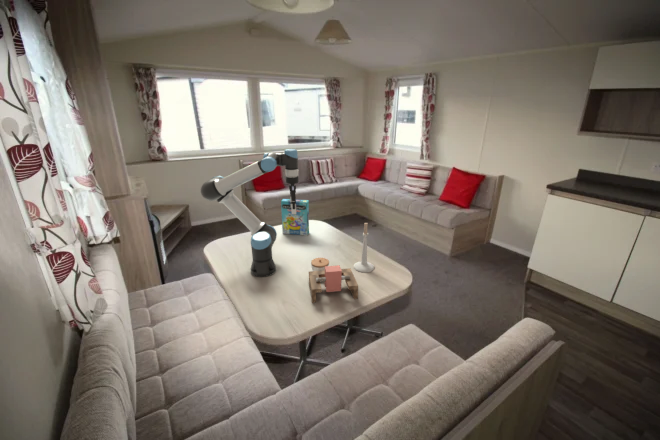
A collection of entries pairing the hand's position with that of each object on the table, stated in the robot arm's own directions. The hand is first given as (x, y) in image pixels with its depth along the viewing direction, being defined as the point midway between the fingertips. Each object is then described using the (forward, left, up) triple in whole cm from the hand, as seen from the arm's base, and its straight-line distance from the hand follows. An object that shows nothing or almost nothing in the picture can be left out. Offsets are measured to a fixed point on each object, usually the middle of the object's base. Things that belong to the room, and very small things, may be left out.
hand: (293, 210), depth 187 cm
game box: (+3, +46, -35) cm, 58 cm away
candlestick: (+42, -15, -35) cm, 57 cm away
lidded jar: (+14, -18, -35) cm, 42 cm away
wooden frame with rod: (+18, -38, -35) cm, 55 cm away
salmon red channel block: (+18, -40, -32) cm, 54 cm away
